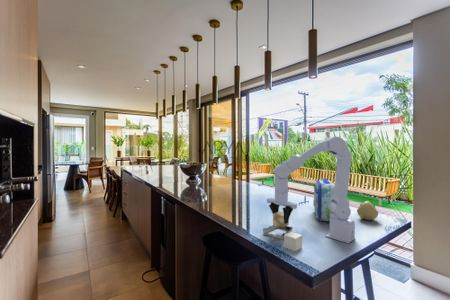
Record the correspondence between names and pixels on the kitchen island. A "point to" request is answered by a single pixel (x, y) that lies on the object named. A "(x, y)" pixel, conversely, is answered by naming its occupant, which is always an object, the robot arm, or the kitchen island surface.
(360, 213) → the tan lumpy ball
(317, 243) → the kitchen island surface
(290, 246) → the cream cube
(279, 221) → the oak cube
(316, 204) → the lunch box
